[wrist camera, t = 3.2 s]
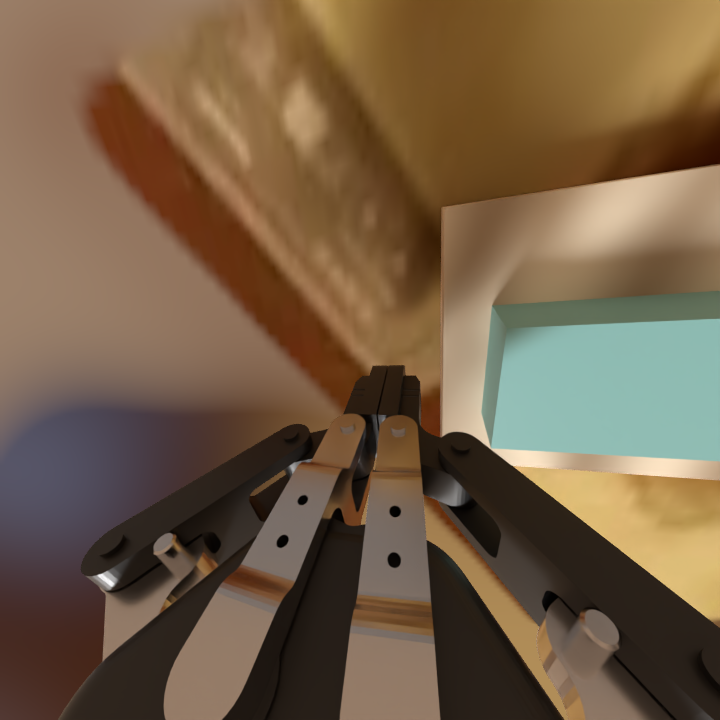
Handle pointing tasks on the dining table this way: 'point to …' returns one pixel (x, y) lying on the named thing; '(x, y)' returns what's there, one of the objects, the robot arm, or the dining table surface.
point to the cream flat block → (570, 280)
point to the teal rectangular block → (606, 376)
